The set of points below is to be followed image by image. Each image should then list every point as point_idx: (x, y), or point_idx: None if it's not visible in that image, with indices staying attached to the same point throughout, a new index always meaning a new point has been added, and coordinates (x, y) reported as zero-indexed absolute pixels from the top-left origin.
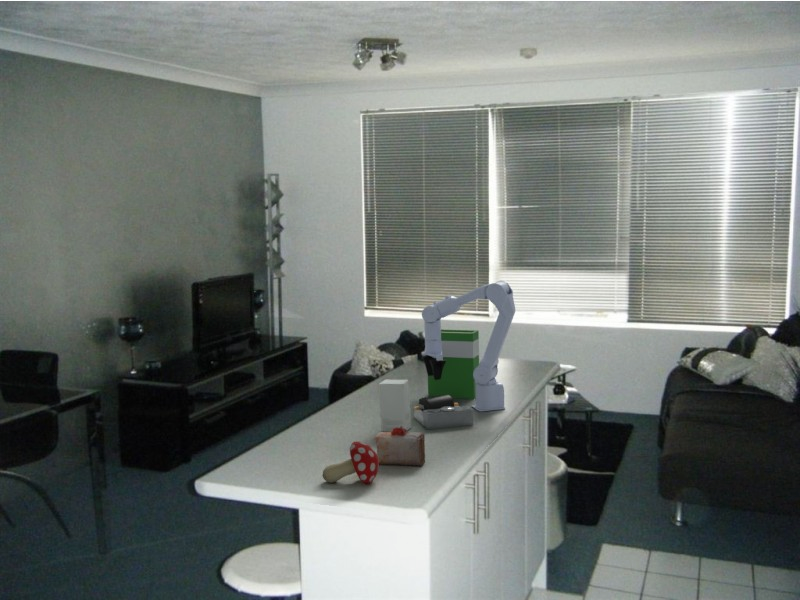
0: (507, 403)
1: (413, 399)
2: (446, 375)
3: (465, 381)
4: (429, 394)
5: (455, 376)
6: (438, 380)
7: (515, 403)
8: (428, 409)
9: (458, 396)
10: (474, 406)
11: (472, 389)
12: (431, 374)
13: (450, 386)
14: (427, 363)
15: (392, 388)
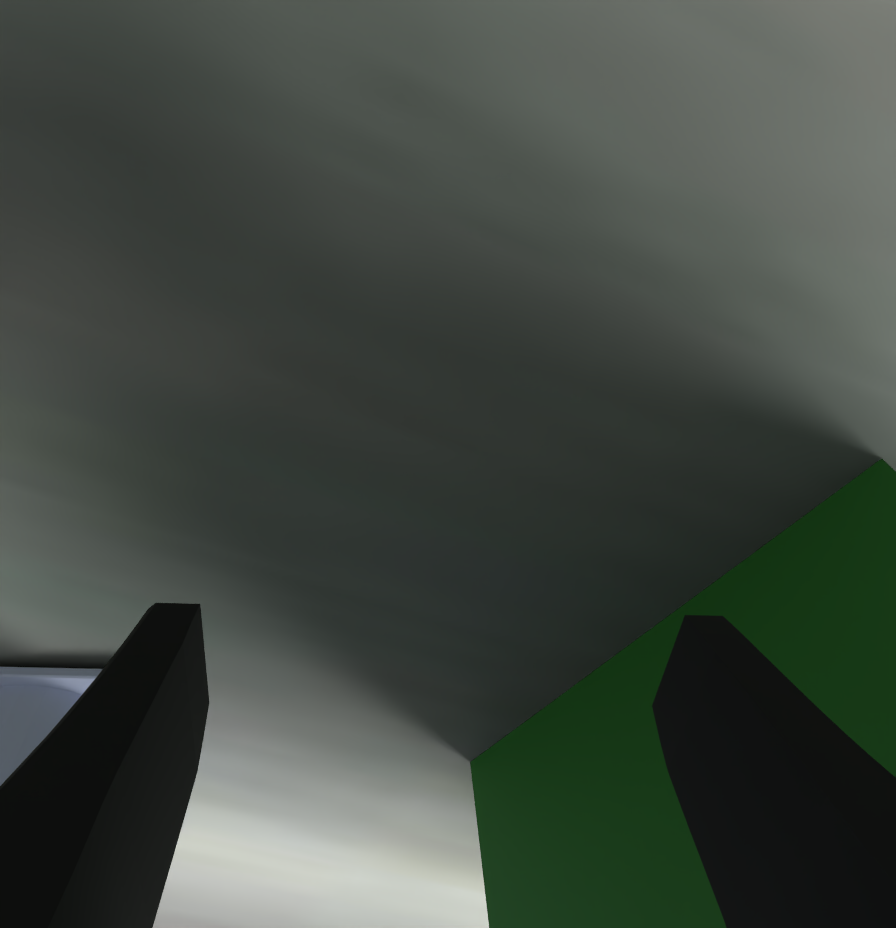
0: (186, 888)
1: (882, 226)
2: None
3: (565, 893)
4: (880, 482)
5: (685, 894)
6: (871, 700)
7: (165, 921)
8: None
9: (591, 688)
10: (81, 683)
11: (492, 842)
12: (671, 688)
13: None
14: (863, 918)
15: None
